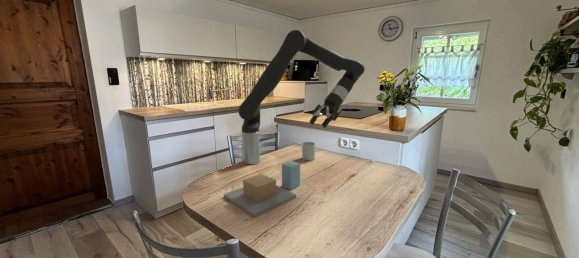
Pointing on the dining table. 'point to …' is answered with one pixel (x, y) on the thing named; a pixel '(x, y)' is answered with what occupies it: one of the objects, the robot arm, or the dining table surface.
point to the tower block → (290, 175)
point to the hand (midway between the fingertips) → (316, 124)
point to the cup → (308, 151)
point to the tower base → (259, 205)
